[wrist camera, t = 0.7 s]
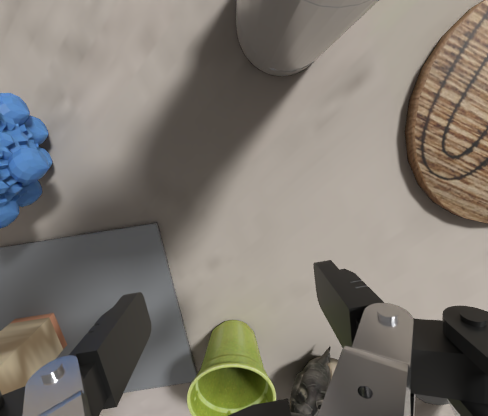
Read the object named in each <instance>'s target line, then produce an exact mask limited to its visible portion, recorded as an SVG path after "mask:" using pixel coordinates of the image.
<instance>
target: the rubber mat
mask: <svg viewBox="0 0 488 416" xmlns="http://www.w3.org/2000/svg"><path fill="white" fill-rule="evenodd" d="M138 292H141V293H142V294H143V296H144V299H145V302H146V306H147V310H148V313H149V317H150V320H151V335H150V337H149V340H148V342H147V344H146V346H145V348H144V350H143V352H142V354H141V356H140V359H139V361H138V363H137V365H136V367H135V369H134V371H133V373H132V376H131V378H130V380H129V382H128V384H127V386H126V388H125V390H124V393H125V392H131V391H138V390H144V389H151V388H157V387H163V386H170V385H176V384H183V383H189V382H192V381H193V380H194V378H195V377H196V376H197V372H196V369H195V365H194V361H193V357H192V353H191V350H190V346H189V342H188V338H187V334H186V331H185V327H184V323H183V319H182V315H181V311H180V308H179V304H178V300H177V296H176V292H175V289H174V285H173V281H172V277H171V273H170V270H169V266H168V262H167V258H166V254H165V251H164V247H163V243H162V239H161V235H160V231H159V228H158V224H157V223H152V224H145V225H139V226H133V227H126V228H120V229H114V230H107V231H101V232H95V233H88V234H82V235H76V236H69V237H63V238H57V239H50V240H44V241H38V242H31V243H25V244H19V245H12V246H6V247H0V331H1V330H2V329H4V328H5V327H6V326H7V325H8V324H10V323H11V322H12V321H13V320H14V319H19V318H25V317H31V316H38V315H44V314H50V313H54V315H55V317H56V320H57V322H58V324H59V327H60V329H61V331H62V334H63V336H64V338H65V341H66V343H67V346H66V347H65V348H64V349H63V350H62V352H61V353H60V354H59V355H58V357H57V358H60V357H63V356H67V355H69V354H70V353H71V352H72V350H73V349H74V348H75V347H76V346H77V344H78V343H79V342H80V341H81V340H82V338H83V337H84V336H85V335H86V334H87V333H88V331H89V330H90V329H91V328H92V326H94V324H95V323H96V322H97V320H98V319H99V318H100V317H101V316H102V315H103V314H104V313H106V312H107V311H108V310H110V309H111V308H113V307H114V305H115V304H116V303H117V302H118V300H119V299H120V298H121V297H122V296H123V295H126V294H132V293H138ZM57 358H56V359H57Z"/></svg>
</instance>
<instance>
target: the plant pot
mask: <svg viewBox="0 0 488 416" xmlns="http://www.w3.org/2000/svg"><path fill="white" fill-rule="evenodd" d="M272 401H276V392H275V388H274V385H273V383H272V382H271V380H270V379H269V377H268V376H267V374H266V372H265V370H264V368H263V364H262V360H261V357H260V353H259V350H258V346H257V342H256V338H255V335H254V332H253V331H252V329H251V328H250V327H249V326H248V325H247V324H246V323H244V322H241V321H237V320H229V321H225V322H223V323H222V324H220V325H219V326H217V327H215V328H214V330H213V331H212V334H211V337H210V340H209V343H208V347H207V350H206V353H205V357H204V360H203V363H202V366H201V369H200V371H199V372H198V374H197V376H196V377H195V378H194V380H193V381H192V383H191V385H190V387H189V390H188V393H187V405H188V409H189V411H190V413H191V415H192V416H228V415H230V414H233V413H235V412H237V411H239V410H242V409H244V408H246V407H249V406H251V405H254V404H260V403H266V402H272Z"/></svg>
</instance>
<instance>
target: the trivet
mask: <svg viewBox="0 0 488 416" xmlns="http://www.w3.org/2000/svg"><path fill="white" fill-rule="evenodd" d="M405 138H406V147H407V157H408V162H409V164H410V166H411V169H412V171H413V174H414V176H415V179H416V181H417V183H418V185H419V186H420V187H421V188H422V190H423V191H424V192H425V193H426V194H427V195H428V197H429V198H430V199H431V200H432V201H433V202H434V203H436V204H437V205H439V206H441V207H442V208H444V209H446V210H447V211H449V212H450V213H452V214H454V215H457V216H460V217H463V218H467V219H471V220H475V221H479V222H483V223H487V224H488V0H484V1H482V2H480V3H479V4H477V5H476V6H474V7H472V8H471V9H469V10H468V11H467V12H466V13H465V14H464V15H463V16H462V17H461V18H460V19H459V20H458V21H457V22H456V23H455V24H454V25H453V26H452V27H451V28H450V29H449V30H448V31H447V32H446V33H445V34H444V35H443V36H442V37H441V39H440V40H439V42H438V43H437V45H436V47H435V48H434V50H433V51H432V53H431V54H430V56H429V57H428V59H427V60H426V62H425V63H424V65H423V66H422V68H421V71H420V74H419V76H418V79H417V81H416V84H415V87H414V89H413V92H412V94H411V97H410V100H409V106H408V113H407V120H406V127H405Z"/></svg>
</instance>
